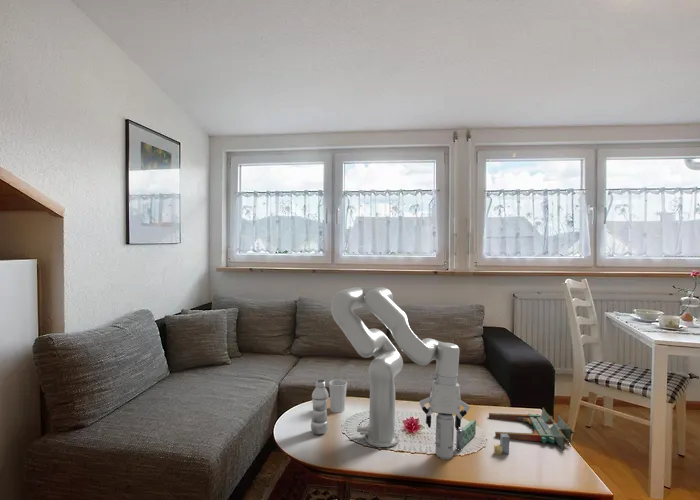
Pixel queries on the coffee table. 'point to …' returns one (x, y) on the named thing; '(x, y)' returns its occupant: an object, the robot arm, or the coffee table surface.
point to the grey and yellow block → (502, 445)
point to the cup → (337, 395)
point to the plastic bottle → (319, 408)
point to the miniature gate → (538, 428)
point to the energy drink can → (444, 435)
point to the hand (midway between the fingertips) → (442, 427)
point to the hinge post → (459, 439)
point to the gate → (469, 431)
